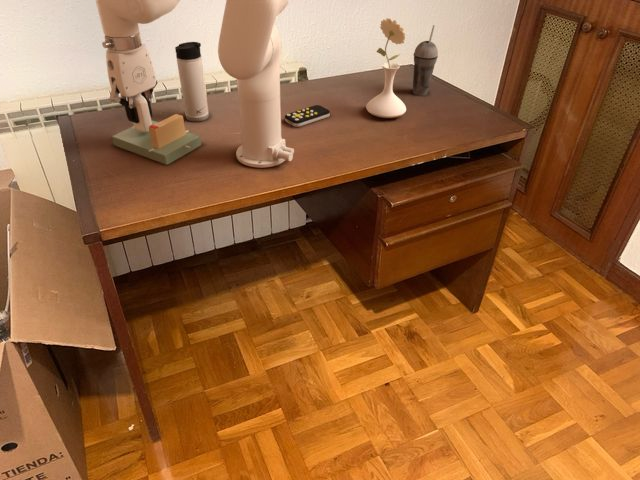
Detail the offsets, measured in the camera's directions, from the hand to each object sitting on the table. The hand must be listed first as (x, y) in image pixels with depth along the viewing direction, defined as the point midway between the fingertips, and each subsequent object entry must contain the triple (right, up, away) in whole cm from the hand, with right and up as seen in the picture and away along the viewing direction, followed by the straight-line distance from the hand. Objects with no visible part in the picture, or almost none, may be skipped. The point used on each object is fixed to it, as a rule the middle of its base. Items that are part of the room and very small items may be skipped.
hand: (140, 117), depth 120 cm
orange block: (+8, -6, -1) cm, 10 cm away
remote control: (+41, +4, +16) cm, 44 cm away
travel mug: (+10, +4, +16) cm, 19 cm away
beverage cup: (+76, +16, +33) cm, 84 cm away
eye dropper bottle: (0, -2, +2) cm, 3 cm away
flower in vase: (+63, +7, +21) cm, 67 cm away
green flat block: (+5, -7, +2) cm, 8 cm away
